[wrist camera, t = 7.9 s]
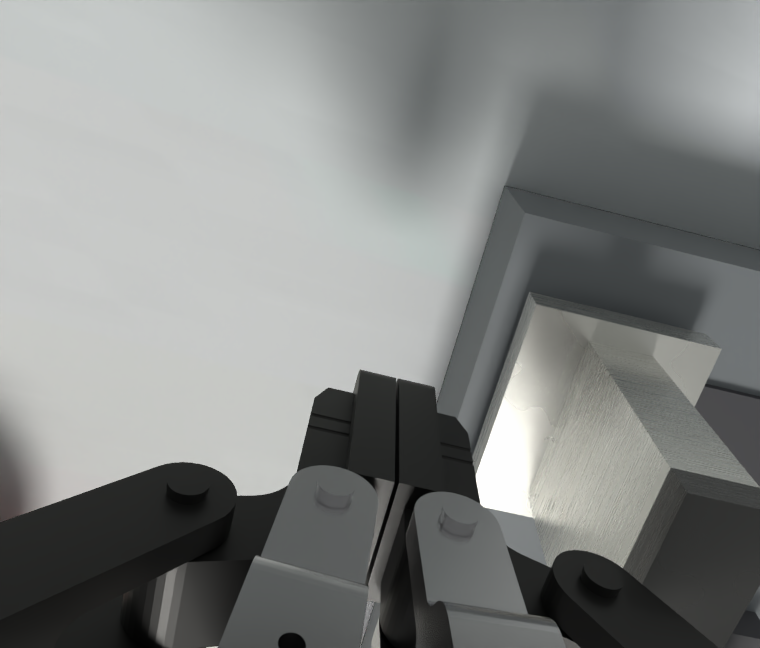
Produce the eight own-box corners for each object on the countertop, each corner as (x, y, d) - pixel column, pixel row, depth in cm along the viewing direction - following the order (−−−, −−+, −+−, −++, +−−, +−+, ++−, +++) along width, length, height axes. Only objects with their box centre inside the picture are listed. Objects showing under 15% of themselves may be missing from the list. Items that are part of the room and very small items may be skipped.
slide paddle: (463, 482, 17) (497, 713, 11) (529, 291, 15) (612, 448, 9) (621, 517, 17) (736, 761, 11) (705, 333, 15) (895, 513, 9)
